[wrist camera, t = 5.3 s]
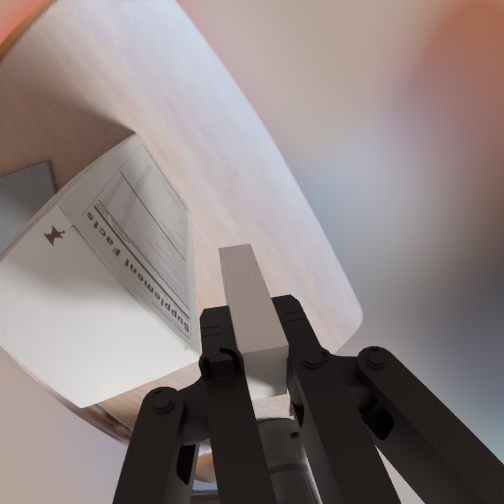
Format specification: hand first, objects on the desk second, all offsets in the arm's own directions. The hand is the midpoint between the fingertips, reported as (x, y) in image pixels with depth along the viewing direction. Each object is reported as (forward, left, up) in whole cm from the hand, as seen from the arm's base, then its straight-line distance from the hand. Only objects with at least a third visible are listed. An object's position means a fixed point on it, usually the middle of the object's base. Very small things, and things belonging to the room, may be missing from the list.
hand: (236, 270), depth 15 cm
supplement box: (0, +8, -14) cm, 16 cm away
